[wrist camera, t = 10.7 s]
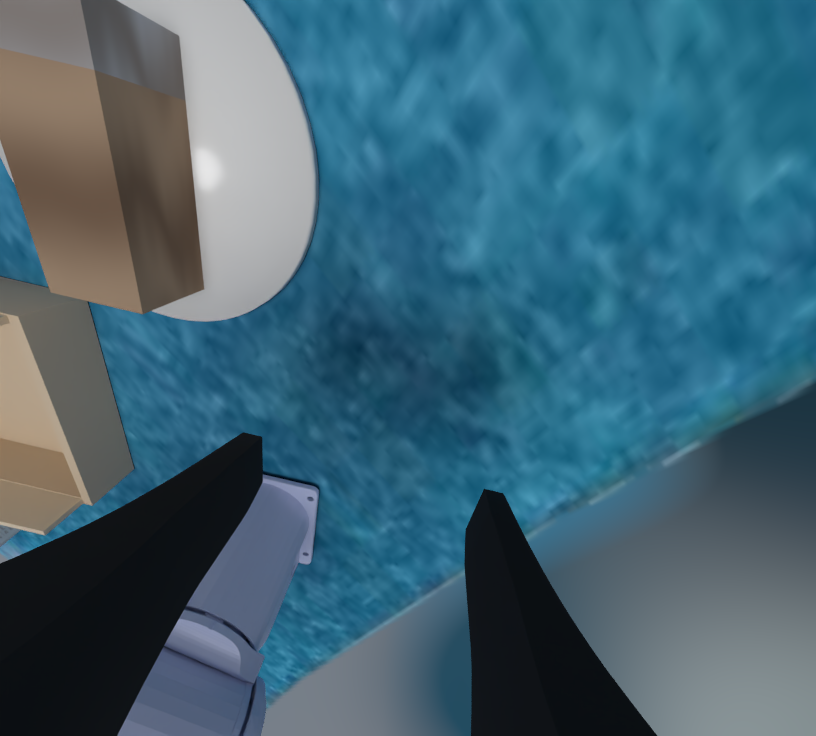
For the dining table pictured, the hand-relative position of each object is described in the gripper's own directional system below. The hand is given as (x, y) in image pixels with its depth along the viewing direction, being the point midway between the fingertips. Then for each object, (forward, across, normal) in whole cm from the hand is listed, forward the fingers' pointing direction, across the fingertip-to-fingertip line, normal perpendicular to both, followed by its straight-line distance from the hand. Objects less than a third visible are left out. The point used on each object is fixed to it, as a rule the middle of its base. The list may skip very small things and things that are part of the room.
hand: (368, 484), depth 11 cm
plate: (+9, +13, -7) cm, 18 cm away
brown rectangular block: (+9, +13, -7) cm, 17 cm away
